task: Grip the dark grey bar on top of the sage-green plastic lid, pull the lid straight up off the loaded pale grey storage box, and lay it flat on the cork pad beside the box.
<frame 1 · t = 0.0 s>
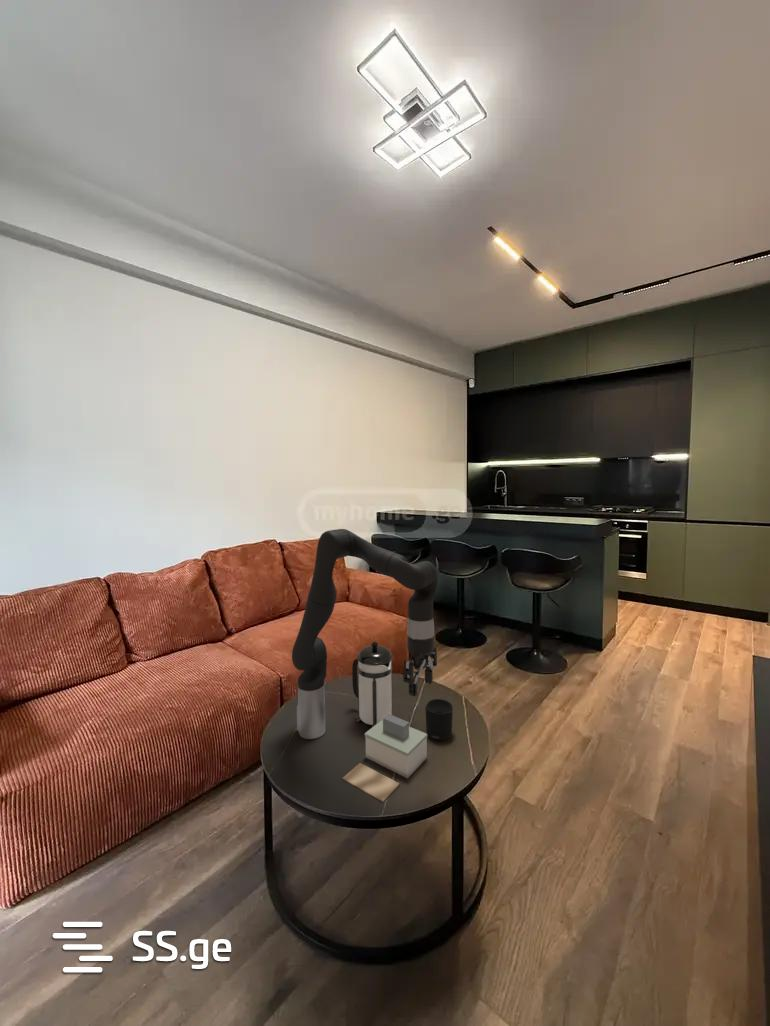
hand: (420, 688, 116), 29 cm above the table, fingers open, 8 cm apart
tin: (373, 691, 172), on the table
coffee press: (372, 720, 151), on the table
cork pad: (370, 782, 120), on the table
lid: (396, 740, 130), point 6 cm above the table, touching storage box
storage box: (396, 757, 130), on the table
pen holder: (439, 734, 143), on the table
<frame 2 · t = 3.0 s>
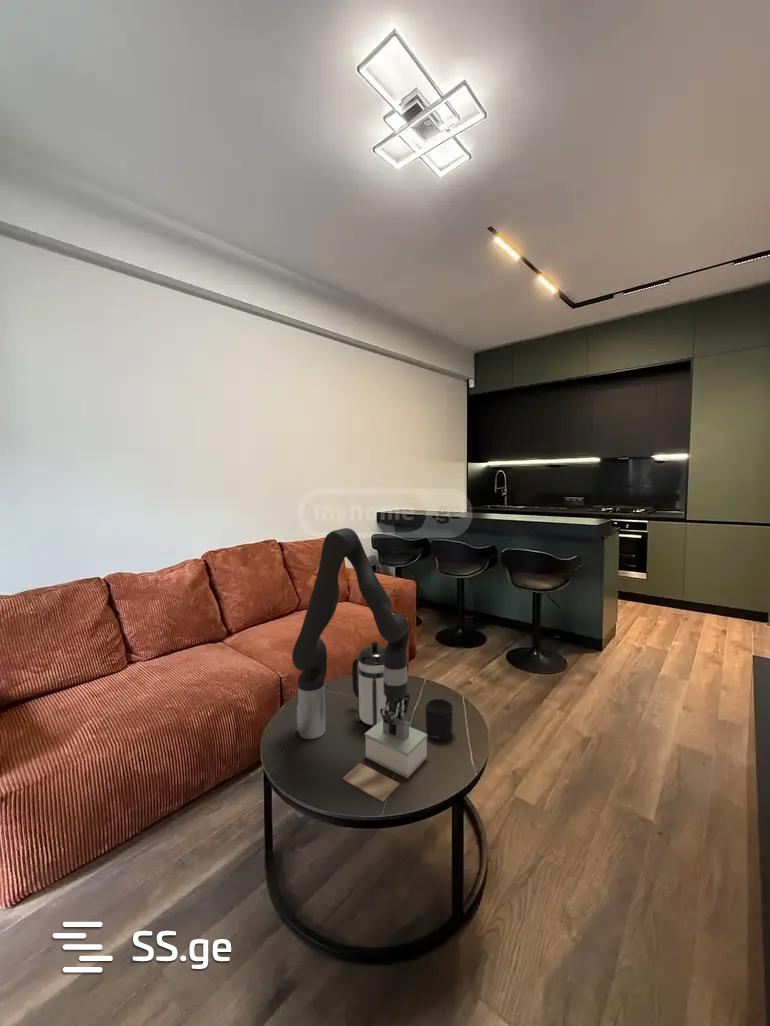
hand: (395, 731, 130), 9 cm above the table, fingers closed on lid, 3 cm apart
lid: (396, 740, 130), point 6 cm above the table, touching gripper, storage box
everything else where it was.
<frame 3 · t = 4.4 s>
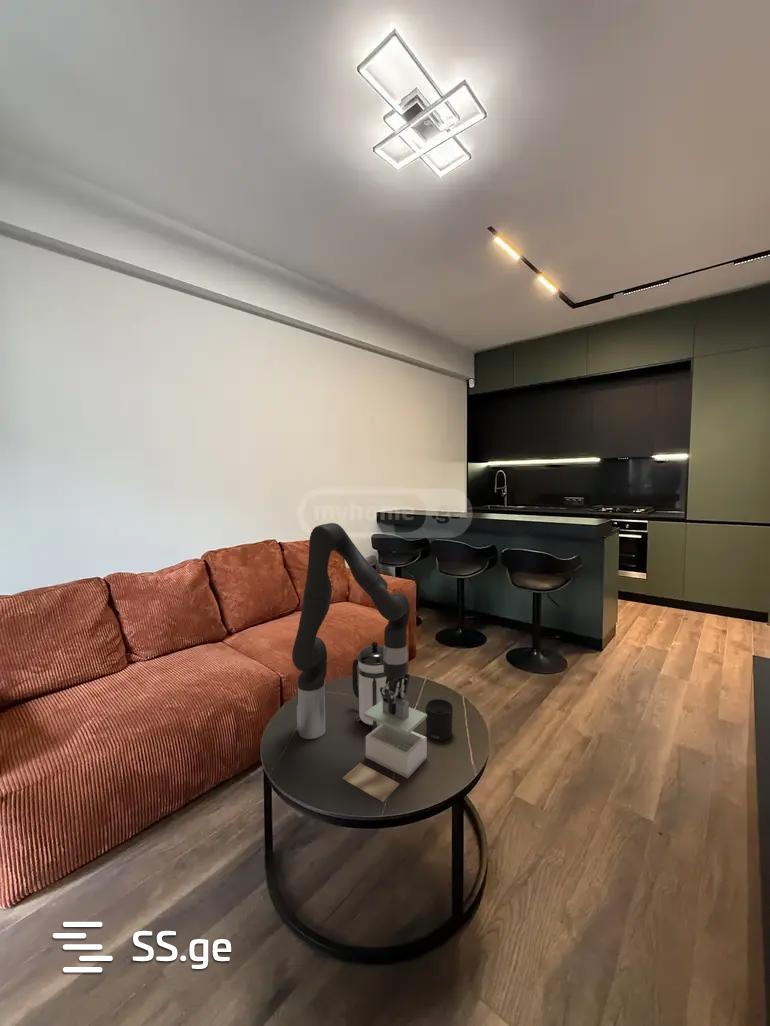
hand: (395, 710, 129), 16 cm above the table, fingers closed on lid, 3 cm apart
lid: (395, 720, 129), point 12 cm above the table, touching gripper
everything else where it was.
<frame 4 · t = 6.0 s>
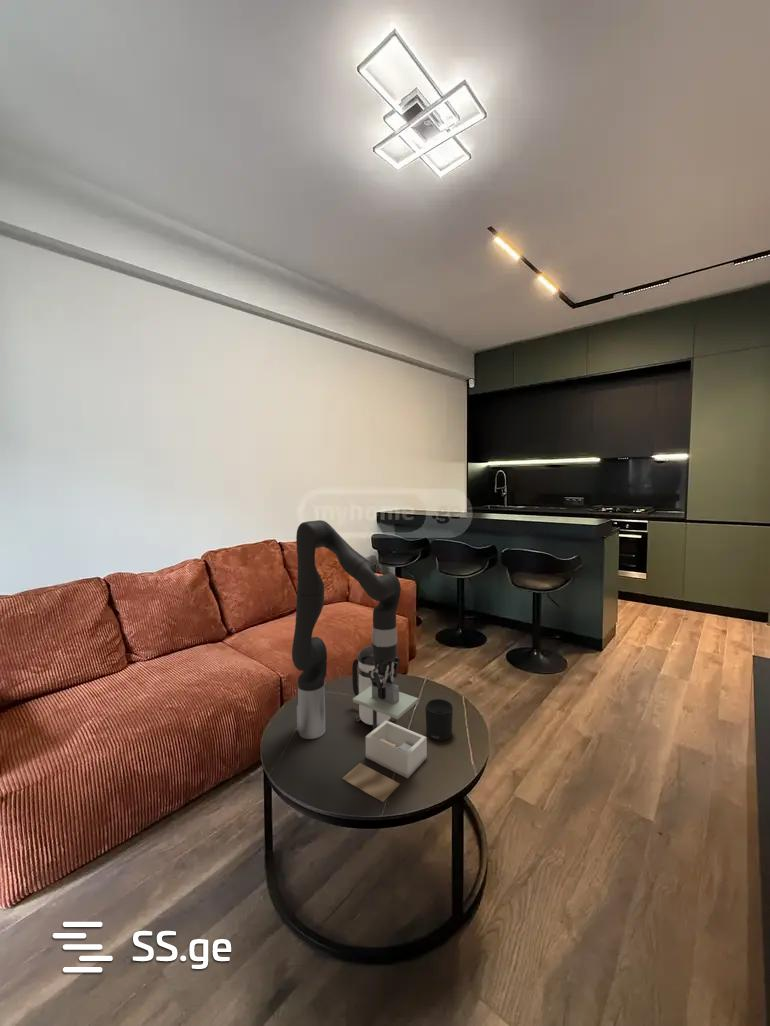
hand: (385, 695, 124), 23 cm above the table, fingers closed on lid, 3 cm apart
lid: (385, 705, 124), point 20 cm above the table, touching gripper
everything else where it was.
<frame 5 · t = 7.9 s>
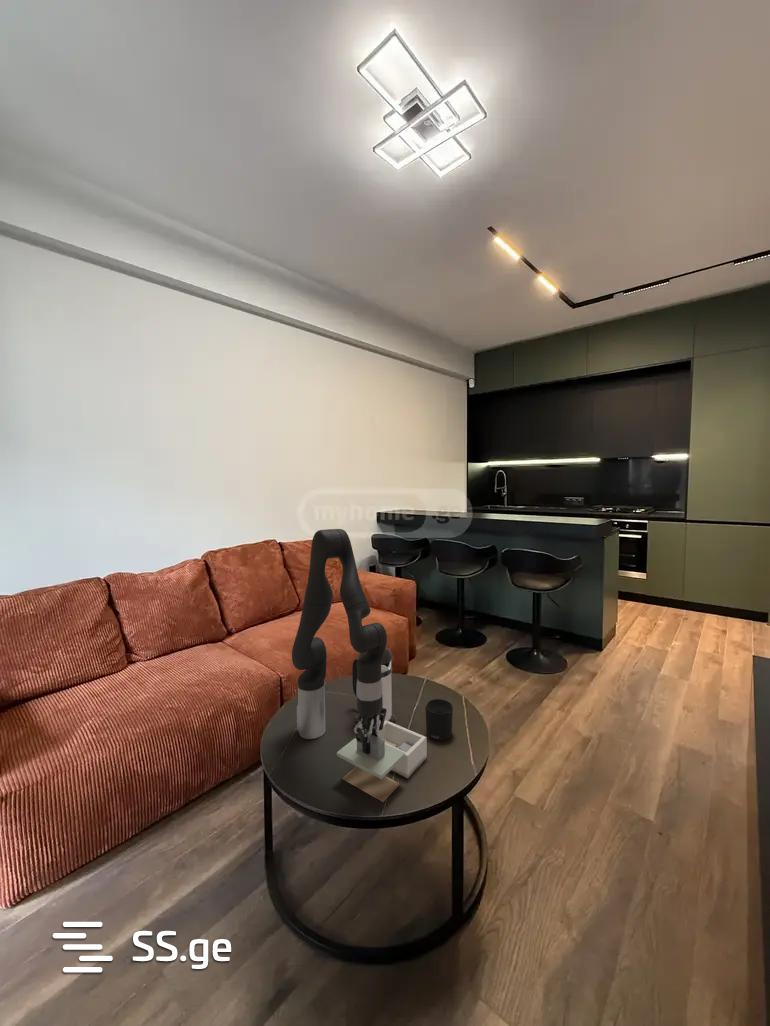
hand: (370, 749, 119), 10 cm above the table, fingers closed on lid, 3 cm apart
lid: (370, 759, 119), point 7 cm above the table, touching gripper
everything else where it was.
when the fingers open (5 cm above the table, at t = 9.3 s): lid drops 1 cm, resting on cork pad.
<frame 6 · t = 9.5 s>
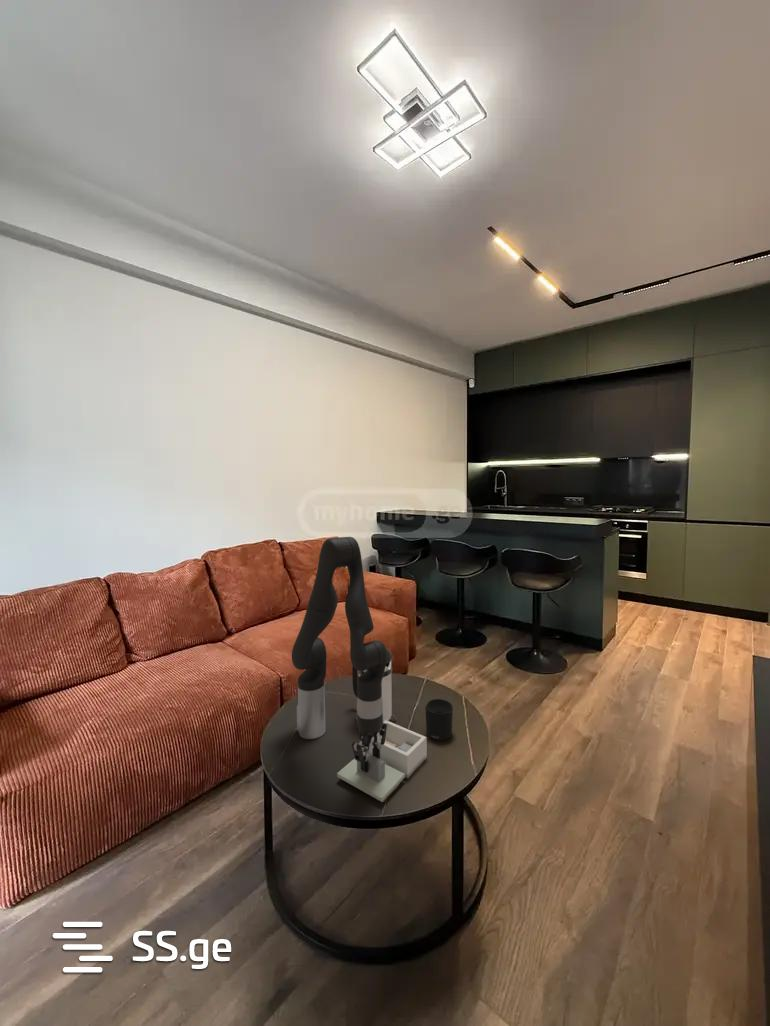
hand: (370, 766, 119), 5 cm above the table, fingers open, 4 cm apart
lid: (370, 780, 120), resting on cork pad
everything else where it was.
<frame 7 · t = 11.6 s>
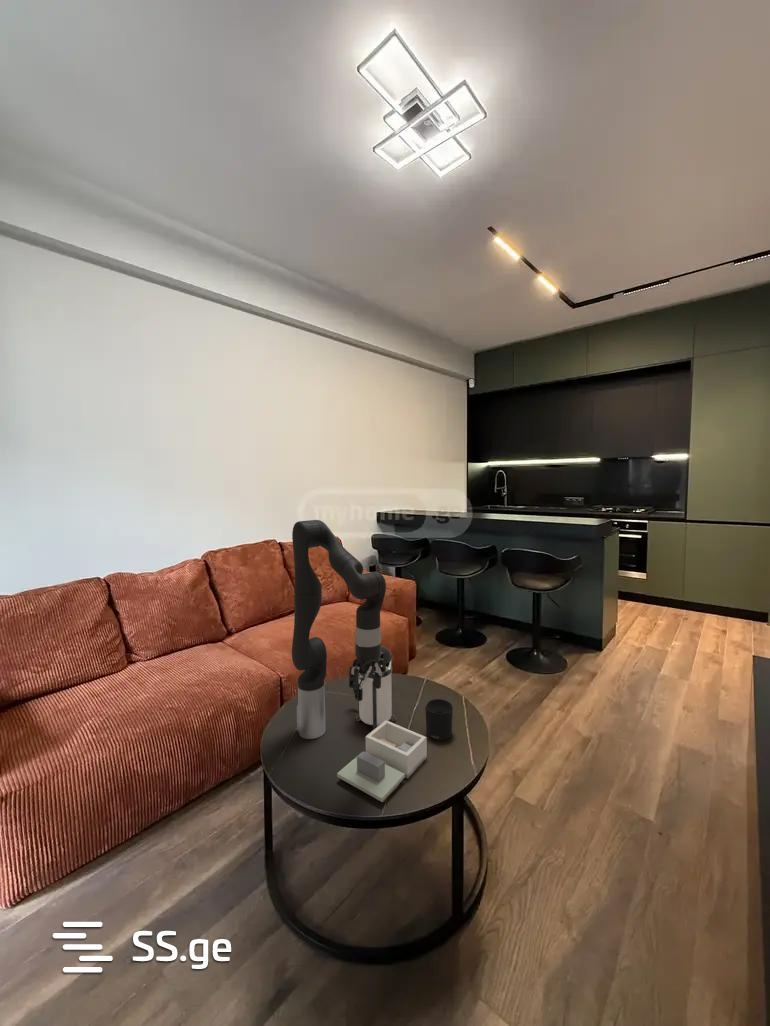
hand: (368, 693, 121), 26 cm above the table, fingers open, 8 cm apart
nothing on the table moved.
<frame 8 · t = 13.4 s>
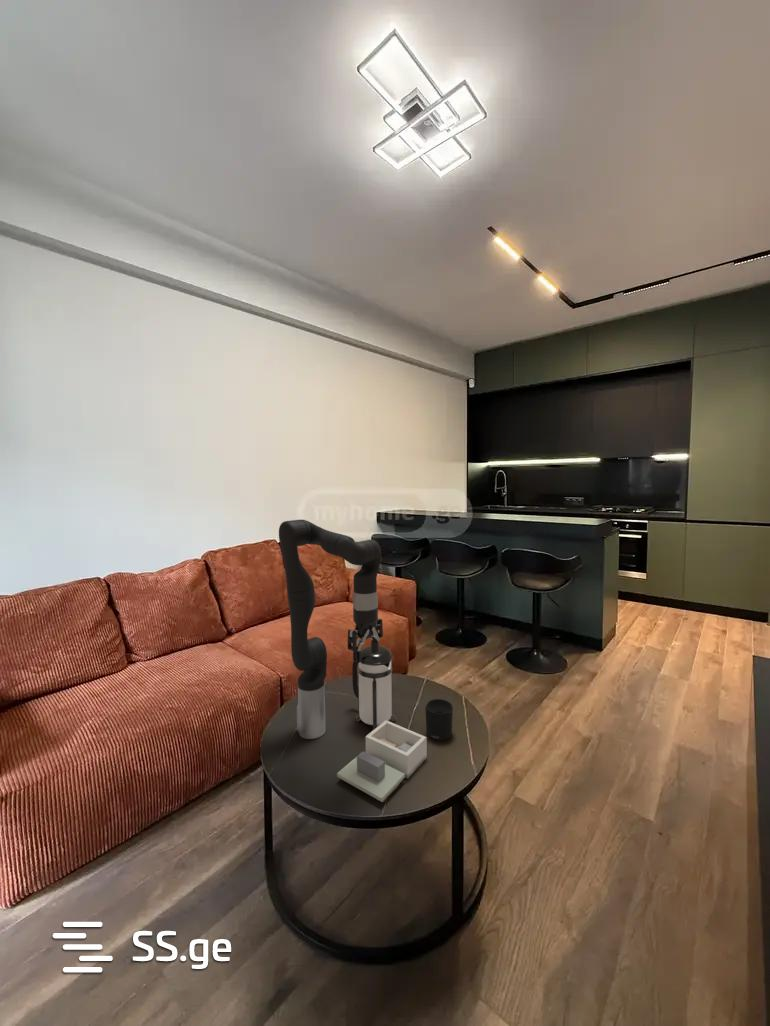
hand: (366, 657, 126), 34 cm above the table, fingers open, 8 cm apart
nothing on the table moved.
at the end: lid inside the target area on the cork pad (0.0 cm from its centre), point 0.4 cm above the cork pad's base; lid tilted 0°; the gripper is holding nothing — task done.
